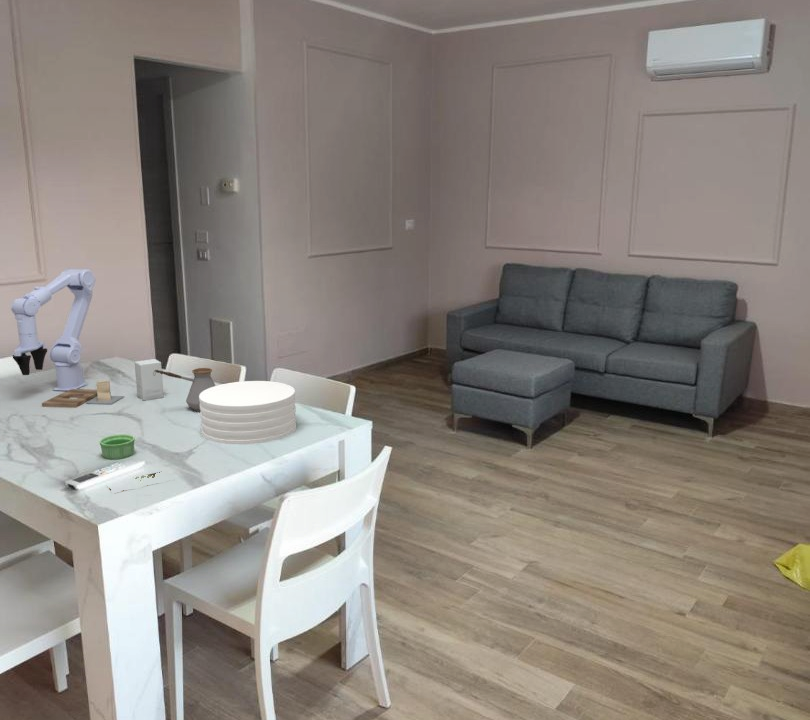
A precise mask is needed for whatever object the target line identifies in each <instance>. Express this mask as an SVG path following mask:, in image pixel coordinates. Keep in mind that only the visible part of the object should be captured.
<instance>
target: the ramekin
mask: <svg viewBox="0 0 810 720" xmlns="http://www.w3.org/2000/svg"><path fill="white" fill-rule="evenodd" d="M135 441H136V439H135V436H134V435H131V434H112V435H108V436H105V437H103V438H101V439H100V440H99V445H100V448H101V454H102V457H103V458H104V459H107V460H120V459H125V458H129V457H131V456H133V454H134V453H135Z"/></svg>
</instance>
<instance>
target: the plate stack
mask: <svg viewBox="0 0 810 720" xmlns="http://www.w3.org/2000/svg"><path fill="white" fill-rule="evenodd" d="M295 396H296V390H295V388H294V387H293V386H291V385H289V384H287V383H283V382H277V381H268V380H246V381H245V380H244V381H234V382H228V383H227V382H226V383H223V384H218V385H216V386H214V387H211V388H208V389H206V390H204V391H203V392H201V393H200V395H199V401H200V410H201V411H199V413H200V415H199V417H200V426H201V429H200V431H201V435H202V436H203V438H205V439H206V440H209V441H212V442H215V443H219V444H227V445H250V444H251V445H253V444H259V443H266V442H271V441H275V440H279V439H282V438H285V437H287V436H289V435H291V434H293V432H295V431H296V429H297V415H296V412H297V409H296V397H295Z"/></svg>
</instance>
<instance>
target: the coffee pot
mask: <svg viewBox="0 0 810 720" xmlns="http://www.w3.org/2000/svg"><path fill="white" fill-rule="evenodd" d="M154 372H157V373H161V374H162V375H165V376H167V377H171V378H176V379H182V380H185V381H188V382H192V383H191V385H190V389H189V391H188V394H187V397H186V400H185V401H186V404H187V406H188V407H189V408H191V409H192V410H194V411H195V412H196V411H197V412H201V410H200V401H199V395H200V393H201V392H203V391H204V390H206V389H208V388H211V387H214V386H217V385H216V384H215V382H214V380H213V378H212V376H211V375H212V374H211V373H212V372H213V369H212V368H211V367H210V368H209V367H198V368H195V369H193V370H192V371H191V372H192V373H193V376H194V377H193V378H191V377H187V376H183V375H179V374H177V373H173V372H169V371H164V370H162V371H159V370H155V371H154ZM154 372H153V376H155V375H156V373H155V375H154Z"/></svg>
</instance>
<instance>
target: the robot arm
mask: <svg viewBox="0 0 810 720" xmlns="http://www.w3.org/2000/svg"><path fill="white" fill-rule="evenodd" d="M95 283H96V277H95V275H94V274H93V272H92V270H91V269H88V268H86V269H77V268H75V269H74V268H66V269H65V270H63V271H61V272H60V274H59V275H58V276H57V277H56V278H54V279H53V280H52V281H50V282H49V283H47V284H46V286H35V287H34V288H33V290H31V291H30V292H28V293H26V294H24V296H23V297H22V298H21V297H20V298H16V299H14V301H13V302H12V303H11V304H12V305H11V307H10V311H11V312H12V313H13V314H14V319H16V323H17V324H16V325H17V331H18V340H19V341H18V342H19V345H17V348H16V349H14V350H13V355H12V359H13V360H14V361H15V362H16V364H17V366H18V368H19V370H20V372H21V374H22V376H29V375H30V372H31V371H30V363H31V358H32V361H33V363H34V369H35V370H36V371H40V370H41V371H42V370H43V367H44V363H45V357H46V354H47V352H48V348H47V347H46V343H45V341H39V337H38V335H39V334H38V328H37V321H36V315H37V314H38V311H39V309H40V308H41V307H42V306H44V305H45V304H47V303H48V302H50V301H51V300H52V296H53V295H54V294H56V293H58V292H59V291H60V290H62V289H64V288H66V287H67V288H68V290H69V291H70V292H71V293H72V294H73V295H74V298H73V302H72V305H71V309H70V311H69V314H68V318H67V321H66V323H65V327H64V329H63V332H62V336H61V337H59V338H58V339H56V340H55V341H54V344H53V346H52V347H51V348H50V349H49V352H48V357H49V359H50V361H51V362H52V363H53V365H54V366H55V373H56V381H57V382H56V384H57V387H55V388H53V389H52V391H63V392H66V391H68V390H70V389H81V388H82V387H85V386H86V385H88V384H87V383H86V382H85V376H84V368H83V366H82V364H81V363H80V361H81V359H82V350H83V346H82V344H81V343H80V342H79V339H80V336H81V333H82V329H83V326H84V323H85V320H86V316H87V315H88V311H89V308H90V305H91V303H92V298H93V291H94V290H93V289H94V286H95ZM28 353H30V354H31V355H28Z"/></svg>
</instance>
